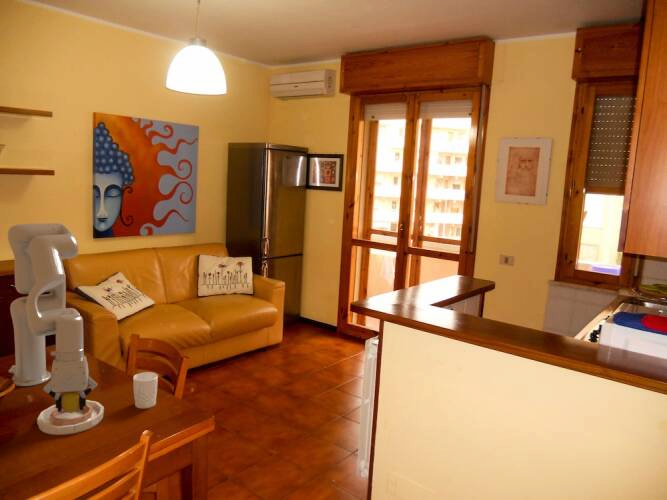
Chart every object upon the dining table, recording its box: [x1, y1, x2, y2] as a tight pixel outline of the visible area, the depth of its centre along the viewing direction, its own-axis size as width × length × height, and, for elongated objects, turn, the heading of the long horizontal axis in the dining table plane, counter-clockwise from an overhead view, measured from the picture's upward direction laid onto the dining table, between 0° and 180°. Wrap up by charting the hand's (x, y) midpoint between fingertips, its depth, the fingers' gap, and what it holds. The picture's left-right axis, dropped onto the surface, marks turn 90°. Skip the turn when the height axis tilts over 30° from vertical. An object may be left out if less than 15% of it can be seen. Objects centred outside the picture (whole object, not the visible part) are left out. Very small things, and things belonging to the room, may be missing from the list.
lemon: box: [61, 391, 81, 413], centre depth 155 cm, size 6×6×8 cm
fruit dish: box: [36, 399, 105, 436], centre depth 156 cm, size 18×18×3 cm
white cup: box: [132, 371, 159, 409], centre depth 169 cm, size 8×8×10 cm
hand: (71, 408), depth 156 cm, fingers closed on lemon, 5 cm apart
